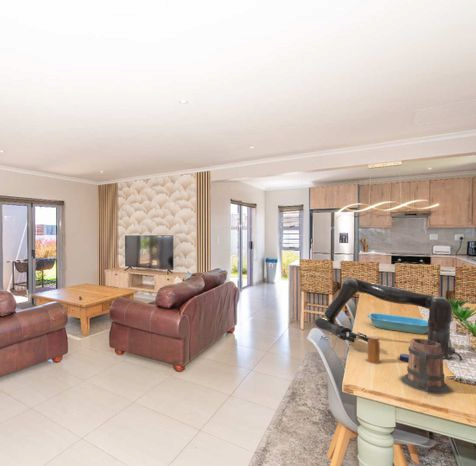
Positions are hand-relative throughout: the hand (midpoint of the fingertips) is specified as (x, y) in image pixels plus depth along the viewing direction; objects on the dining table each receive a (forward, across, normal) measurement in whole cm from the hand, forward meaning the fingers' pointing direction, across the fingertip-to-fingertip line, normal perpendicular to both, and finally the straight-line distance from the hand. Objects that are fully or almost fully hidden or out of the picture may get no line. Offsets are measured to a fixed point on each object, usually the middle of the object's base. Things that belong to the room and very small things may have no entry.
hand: (361, 340), depth 189 cm
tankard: (+38, 0, -8) cm, 39 cm away
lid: (+9, -19, -6) cm, 22 cm away
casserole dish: (-44, -63, -8) cm, 77 cm away
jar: (+9, 0, -8) cm, 12 cm away
